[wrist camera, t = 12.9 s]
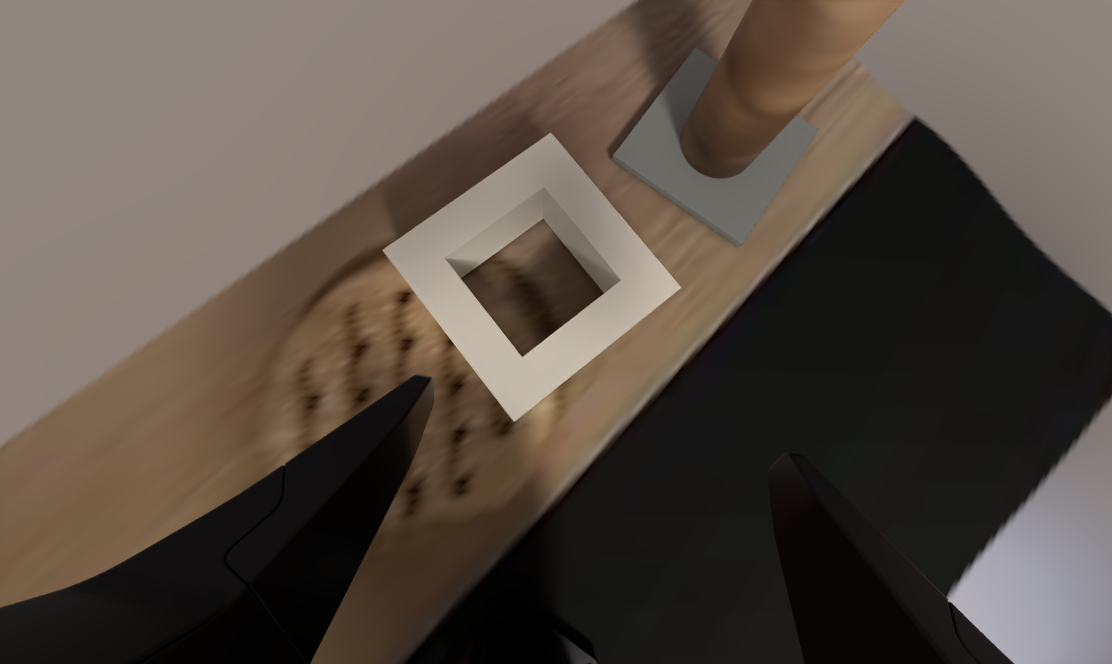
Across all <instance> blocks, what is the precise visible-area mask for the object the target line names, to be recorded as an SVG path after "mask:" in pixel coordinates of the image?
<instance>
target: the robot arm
mask: <svg viewBox="0 0 1112 664" xmlns="http://www.w3.org/2000/svg"><path fill="white" fill-rule="evenodd" d="M433 402H434V382H433V378H431V377H429V376H424V375H419V374H417V375H414V376H413V377H411V378H410V379H408V380H407V381H405V382H404V383H402V384H401V385H399V386H398V387H397V388H395V389H394V390H392V391H391V392H389V393H388V394H386V395H385V396H383V397H382V398H380V399H379V400H377V401H376V402H375V403H373V404H372V405H370V406H369V407H367V408H366V409H364V410H363V411H361V412H360V413H358V414H357V415H355V416H354V417H353V418H351V419H350V420H348V421H347V422H345V423H344V424H342V425H341V426H339V427H338V428H336V429H335V430H333V431H332V432H331V433H329V434H328V435H326V436H325V437H323V438H322V439H320V440H319V441H317V442H316V443H314V444H313V445H311V446H310V447H309V448H307V449H306V450H304V451H303V452H301V453H300V454H298V455H297V456H295V457H294V458H292V459H291V460H290V461H288V462H287V463H286V464H285V466H280V467H279V468H278V469H276V470H275V471H273V472H272V473H270V474H269V475H267V476H266V477H264V478H263V479H261V480H260V481H258V482H257V483H255V484H254V485H252V486H251V487H249V488H247V489H246V490H244V491H243V492H241V493H240V494H238V495H237V496H235V497H233V498H232V499H230V500H228V501H227V502H225V503H223V504H222V505H220V506H218V507H217V508H215V509H213V510H212V511H210V512H208V513H207V514H205V515H203V516H202V517H200V518H198V519H196V520H195V521H193V522H191V523H189V524H188V525H186V526H184V527H183V528H181V529H179V530H177V531H176V532H174V533H172V534H170V535H169V536H167V537H165V538H164V539H162V540H160V541H158V542H157V543H155V544H153V545H151V546H150V547H148V548H146V549H145V550H143V551H141V552H139V553H138V554H136V555H134V556H132V557H131V558H129V559H127V560H125V561H124V562H122V563H120V564H118V565H116V566H114V567H113V568H111V569H109V570H107V571H105V572H102V573H100V574H98V575H96V576H94V577H92V578H89V579H87V580H85V581H82V582H80V583H78V584H75V585H72V586H70V587H67V588H64V589H61V590H58V591H55V592H51V593H48V594H45V595H41V596H38V597H35V598H31V599H28V600H24V601H21V602H18V603H14V604H11V605H7V606H4V607H1V608H0V664H310V663H311V661H312V659H313V657H314V655H315V653H316V651H317V649H318V647H319V645H320V643H321V641H322V639H323V637H324V635H325V633H326V631H327V629H328V627H329V625H330V623H331V621H332V619H333V617H334V615H335V613H336V611H337V610H338V608H339V606H340V604H341V602H342V600H343V598H344V596H345V594H346V592H347V590H348V588H349V586H350V584H351V582H352V580H353V578H354V576H355V574H356V572H357V570H358V568H359V566H360V564H361V562H362V560H363V558H364V556H365V554H366V552H367V551H368V549H369V547H370V545H371V543H372V541H373V539H374V537H375V535H376V533H377V531H378V529H379V527H380V525H381V523H382V521H383V519H384V517H385V515H386V513H387V511H388V509H389V507H390V505H391V503H392V501H393V499H394V497H395V495H396V493H397V491H398V490H399V488H400V486H401V484H402V482H403V480H404V478H405V476H406V474H407V472H408V470H409V468H410V465H411V463H412V461H413V458H414V456H415V453H416V450H417V448H418V445H419V442H420V440H421V437H422V434H423V431H424V429H425V426H426V423H427V421H428V418H429V415H430V413H431V410H432V407H433ZM767 483H768V490H769V498H770V505H771V513H772V520H773V528H774V534H775V540H776V545H777V549H778V553H779V558H780V562H781V566H782V570H783V574H784V579H785V583H786V587H787V591H788V595H789V600H790V604H791V608H792V612H793V616H794V620H795V625H796V629H797V633H798V637H799V641H800V646H801V650H802V654H803V658H804V662H805V664H1014V663H1013V662H1012V661H1011V660H1010V659H1009V658H1008V657H1006V656H1005V655H1004V654H1003V653H1002V652H1001V651H1000V650H999V649H998V648H997V647H996V646H995V645H994V644H993V643H992V642H991V641H990V640H989V639H988V638H986V636H985V635H984V634H983V633H982V632H980V631H979V630H978V629H977V628H976V627H975V626H974V625H973V624H972V623H971V622H970V621H969V620H968V619H967V618H966V617H965V616H964V615H963V614H962V613H961V612H960V611H959V610H958V609H957V608H956V607H955V606H954V605H953V604H952V603H951V602H948V599H947V598H946V597H945V596H944V595H943V594H942V593H941V592H940V591H939V590H938V589H937V588H936V587H935V586H934V585H933V584H932V583H931V582H930V581H929V580H928V579H927V578H926V577H925V576H924V575H923V574H922V573H921V572H920V571H919V570H918V569H917V568H916V567H915V566H914V565H913V564H912V563H911V562H910V561H909V560H908V559H907V558H906V557H905V556H904V555H903V554H902V553H901V552H900V551H899V550H898V549H897V548H896V547H895V546H894V545H893V544H892V543H891V542H890V541H889V540H888V539H887V538H886V537H885V536H884V535H883V534H882V533H881V532H880V531H879V530H878V529H877V528H876V527H875V526H874V525H873V524H872V523H871V522H870V521H869V520H868V519H867V518H866V517H865V516H864V515H863V514H862V513H861V512H860V511H859V510H858V509H857V508H856V507H855V506H854V505H853V504H852V503H851V502H850V501H849V500H848V499H847V498H846V497H845V496H844V495H843V494H842V493H841V492H840V491H839V490H838V489H837V488H836V487H835V486H834V485H833V484H832V483H831V482H830V481H829V480H828V479H827V478H826V477H825V476H824V475H823V474H822V473H821V472H820V471H819V470H818V469H817V468H816V467H815V466H814V465H813V464H812V463H811V462H810V461H809V460H808V459H807V458H805V457H804V456H802V455H799V454H794V453H790V452H786V453H784V454H782V455H781V457H780V458H779V459H778V460H777V461H776V462H775V463H774V465H773V466H772V467H771V468H770V469H769V471H768V474H767ZM506 600H508V601H510V603H511V605H510V606H507V607H506V606H504V605H503V602H504V601H506ZM587 663H592V664H598V662H597V659H596V657H595V656H594V655H593V654H592V653H591V652H589V651H588V650H587V649H586V648H584V647H583V646H582V645H580V644H579V643H578V642H576V641H575V640H574V639H572V638H571V637H570V636H568V635H567V634H566V633H564V632H563V631H562V630H560V629H559V628H558V627H556V626H555V625H554V624H552V623H551V622H550V621H548V620H547V619H546V618H545V617H543V616H542V615H541V614H539V613H538V612H537V611H535V610H534V609H533V608H531V607H530V606H529V605H527V604H526V603H525V602H523V601H522V600H521V599H519V598H518V597H517V596H515V595H514V594H513V593H511V592H504V593H502V594H501V595H500V597H499V598H498V600H497V601H496V603H495V604H494V606H493V607H492V609H491V610H490V612H489V613H488V615H487V616H486V617H485V619H484V620H483V622H482V623H480V622H477V623H474V624H473V625H472V627H471V628H470V630H469V631H468V633H467V634H466V636H465V637H464V639H463V640H462V642H461V643H460V645H459V646H458V647H457V649H456V650H455V652H454V653H453V655H452V656H451V658H450V659H449V661H448V662H447V664H587Z"/></svg>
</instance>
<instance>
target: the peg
mask: <svg viewBox="0 0 1112 664" xmlns="http://www.w3.org/2000/svg"><path fill="white" fill-rule="evenodd" d="M904 1H905V0H752V2H751V4H750V6H749V8H748V9H747V11H746V13H745V15H744V17H743V18H742V20H741V22H740V24H739V26H738V28H737V29H736V31H735V33H734V35H733V37H732V39H731V40H730V42H729V44H728V46H727V48H726V50H725V51H724V53H723V55H722V57H721V59H720V60H719V62H718V64H717V66H716V68H715V70H714V71H713V73H712V75H711V77H710V79H709V81H708V82H707V84H706V86H705V88H704V90H703V91H702V93H701V95H700V97H699V99H698V101H697V102H696V104H695V106H694V108H693V110H692V112H691V113H690V115H689V117H688V119H687V121H686V122H685V124H684V126H683V128H682V131H681V136H680V145H681V150H682V153H683V155H684V157H685V159H686V161H687V162H688V163H689V164H690V166H692V167H693V168H694V169H695V170H696V171H698V172H699V173H701V174H703V175H705V176H708V177H711V178H717V179H724V178H730V177H733V176H736V175H738V174H740V173H741V172H743V171H744V170H745V169H746V168H747V167H748V166H749V165H750V164H751V163H752V162H753V161H754V160H755V159H756V158H757V157H758V156H759V155H760V153H761V152H762V151H763V150H764V149H765V148H766V147H767V146H768V145H769V144H770V143H771V142H772V141H773V140H774V139H775V138H776V137H777V135H778V134H779V133H780V132H781V131H782V130H783V129H784V128H785V127H786V126H787V125H788V124H789V123H790V122H791V121H792V120H793V119H794V117H795V116H796V115H797V114H798V113H799V112H800V111H801V110H802V109H803V108H804V107H805V106H806V105H807V104H808V103H809V102H810V101H811V99H812V98H813V97H814V96H815V95H816V94H817V93H818V92H819V91H820V90H821V89H822V88H823V87H824V86H825V85H826V84H827V83H828V81H829V80H830V79H831V78H832V77H833V76H834V75H835V74H836V73H837V72H838V71H839V70H840V69H841V68H842V67H843V66H844V65H845V63H846V62H847V61H848V60H849V59H850V58H851V57H852V56H853V55H854V54H855V53H856V52H857V51H858V50H859V48H861V47H862V45H863V44H864V43H865V42H866V41H867V40H868V39H869V38H870V37H871V36H872V35H873V34H874V33H875V32H876V31H877V30H878V29H879V27H880V26H881V25H882V24H883V23H884V22H885V21H886V20H887V19H888V18H889V17H890V16H891V15H892V14H893V13H894V12H895V10H896V9H897V8H898V7H899V6H900V5H901V4H902V3H903V2H904Z"/></svg>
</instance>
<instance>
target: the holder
mask: <svg viewBox="0 0 1112 664" xmlns="http://www.w3.org/2000/svg"><path fill="white" fill-rule="evenodd" d="M542 219H544V220H545V222H546V223H547V224H548V225H549V227H550V228H551V229H552V230H553V232H554V233H555V234H556V235H557V236H558V238H559V239H560V240H561V241H562V243H563V244H564V245H565V246H566V247H567V249H568V250H569V251H570V252H571V254H572V255H573V256H574V257H575V258H576V260H577V261H578V262H579V263H580V265H581V266H582V267H583V268H584V269H585V271H586V272H587V273H588V274H589V276H590V277H591V278H592V279H593V280H594V282H595V283H596V284H597V285H598V287H599V288H600V289H601V290H602V291H603V293H604V294H603V295H602V296H600V297H599V298H598V299H596V300H595V301H594V302H593V303H591V304H590V305H589V306H587V307H586V308H585V309H584V310H582V311H581V312H580V313H579V314H577V315H576V316H575V317H573V318H572V319H571V320H570V321H568V322H567V323H566V324H564V325H563V326H562V327H561V328H559V329H558V330H557V331H555V332H554V333H553V334H552V335H550V336H549V337H548V338H546V339H545V340H544V341H543V342H541V343H540V344H539V345H537V346H536V347H535V348H534V349H532V350H531V351H530V352H528V353H527V354H526V355H525V356H523V357H522V356H521V355H520V354H519V353H518V351H517V350H516V349H515V347H514V346H513V345H512V344H511V342H510V341H509V340H508V338H507V337H506V336H505V335H504V333H503V332H502V331H501V330H500V328H499V327H498V326H497V324H496V323H495V322H494V321H493V319H492V318H491V317H490V315H489V314H488V313H487V312H486V310H485V309H484V308H483V307H482V305H481V304H480V303H479V301H478V300H477V299H476V298H475V296H474V295H473V294H472V292H471V291H470V290H469V289H468V287H467V286H466V285H465V283H464V282H463V281H462V280H461V278H462V277H464V276H465V275H466V274H468V273H469V272H471V271H472V270H473V269H475V268H476V267H477V266H479V265H480V264H482V263H483V262H484V261H486V260H487V259H488V258H490V257H491V256H492V255H494V254H495V253H497V252H498V251H499V250H501V249H502V248H503V247H505V246H506V245H508V244H509V243H510V242H512V241H513V240H514V239H516V238H517V237H519V236H520V235H521V234H523V233H524V232H525V231H527V230H528V229H529V228H531V227H532V226H534V225H535V224H536V223H538V222H539V221H540V220H542ZM382 251H383V252H384V253H385V254H386V256H387V257H388V258H389V260H390V261H391V262H392V264H393V265H394V266H395V267H396V269H397V270H398V271H399V273H400V274H401V275H402V277H403V278H404V279H405V281H406V282H407V283H408V284H409V286H410V287H411V288H412V290H413V291H414V292H415V294H416V295H417V296H418V297H419V299H420V300H421V301H422V303H423V304H424V305H425V307H426V308H427V309H428V311H429V312H430V313H431V314H432V316H433V317H434V318H435V320H436V321H437V322H438V324H439V325H440V326H441V327H442V329H443V330H444V331H445V333H446V334H447V335H448V337H449V338H450V339H451V340H452V342H453V343H454V344H455V346H456V347H457V348H458V350H459V351H460V352H461V354H462V355H463V356H464V357H465V359H466V360H467V361H468V363H469V364H470V365H471V367H472V368H473V369H474V370H475V372H476V373H477V374H478V376H479V377H480V378H481V380H482V381H483V382H484V384H485V385H486V386H487V387H488V389H489V390H490V391H491V393H492V394H493V395H494V397H495V398H496V399H497V400H498V402H499V403H500V404H501V406H502V407H503V408H504V410H505V411H506V412H507V414H508V415H509V416H510V417H511V419H512V420H513V421H514V422H515V421H516V420H517V419H518V418H520V417H521V416H522V415H523V414H525V413H526V412H527V411H528V410H530V409H531V408H532V407H533V406H535V405H536V404H537V403H538V402H540V401H541V400H542V399H543V398H545V397H546V396H547V395H548V394H549V393H551V392H552V391H553V390H554V389H556V388H557V387H558V386H559V385H561V384H562V383H563V382H564V381H566V380H567V379H568V378H569V377H571V376H572V375H573V374H574V373H576V372H577V371H578V370H579V369H581V368H582V367H583V366H584V365H586V364H587V363H588V362H589V361H591V360H592V359H593V358H594V357H596V356H597V355H598V354H599V353H601V352H602V351H603V350H604V349H606V348H607V347H608V346H609V345H611V344H612V343H613V342H614V341H616V340H617V339H618V338H619V337H621V336H622V335H623V334H624V333H625V332H627V331H628V330H629V329H630V328H632V327H633V326H634V325H635V324H637V323H638V322H639V321H640V320H642V319H643V318H644V317H645V316H647V315H648V314H649V313H650V312H652V311H653V310H654V309H655V308H657V307H658V306H659V305H660V304H662V303H663V302H664V301H665V300H667V299H668V298H669V297H670V296H672V295H673V294H674V293H675V292H677V291H678V290H679V289H680V288H681V287H680V286H679V284H678V283H677V282H676V281H675V280H674V279H673V277H672V276H671V275H670V274H669V273H668V271H667V270H666V269H665V268H664V267H663V265H662V264H661V263H660V262H659V261H658V259H657V258H656V257H655V256H654V255H653V253H652V252H651V251H650V250H649V249H648V248H647V246H646V245H645V244H644V243H643V242H642V240H641V239H640V238H639V237H638V236H637V234H636V233H635V232H634V231H633V230H632V228H631V227H630V226H629V225H628V224H627V222H626V221H625V220H624V219H623V218H622V217H621V215H620V214H619V213H618V212H617V211H616V209H615V208H614V207H613V206H612V205H611V203H610V202H609V201H608V200H607V199H606V197H605V196H604V195H603V194H602V193H601V191H600V190H599V189H598V188H597V187H596V186H595V184H594V183H593V182H592V181H591V180H590V178H589V177H588V176H587V175H586V174H585V172H584V171H583V170H582V169H581V168H580V166H579V165H578V164H577V163H576V162H575V161H574V159H573V158H572V157H571V156H570V155H569V153H568V152H567V151H566V150H565V149H564V147H563V146H562V145H561V144H560V143H559V141H558V140H557V139H556V138H555V137H554V135H553V134H552V133H550V134H548V135H547V136H545V137H544V138H542V139H541V140H540V141H538V142H537V143H535V144H534V145H532V146H531V147H529V148H528V149H527V150H525V151H524V152H522V153H521V154H519V155H518V156H517V157H515V158H514V159H512V160H511V161H509V162H508V163H507V164H505V165H504V166H502V167H501V168H499V169H498V170H496V171H495V172H494V173H492V174H491V175H489V176H488V177H486V178H485V179H484V180H482V181H481V182H479V183H478V184H476V185H475V186H474V187H472V188H471V189H469V190H468V191H466V192H465V193H463V194H462V195H461V196H459V197H458V198H456V199H455V200H453V201H452V202H451V203H449V204H448V205H446V206H445V207H443V208H442V209H441V210H439V211H438V212H436V213H435V214H433V215H432V216H431V217H429V218H428V219H426V220H425V221H423V222H422V223H420V224H419V225H418V226H416V227H415V228H413V229H412V230H410V231H409V232H408V233H406V234H405V235H403V236H402V237H400V238H399V239H398V240H396V241H395V242H393V243H392V244H390V245H389V246H387V247H386V248H385V249H383V250H382Z"/></svg>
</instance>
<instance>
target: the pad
mask: <svg viewBox="0 0 1112 664" xmlns="http://www.w3.org/2000/svg"><path fill="white" fill-rule="evenodd" d="M717 64H718V62H717V61H716V60H714V59H713V58H711V57H710V56H708V55H707V54H705V53H704V52H702V51H701V50H699V49H698V48H696V47H695V48H694V50H693V51H692V52H691V54H690V55H689V56H688V57H687V59H686V60H685V61H684V63H683V64H682V65H681V67H680V68H679V69H678V71H677V72H676V73H675V75H674V76H673V77H672V79H671V80H670V81H669V82H668V84H667V85H666V86H665V88H664V89H663V90H662V92H661V93H660V94H659V96H658V97H657V98H656V100H655V101H654V102H653V104H652V105H651V106H650V107H649V109H648V110H647V111H646V113H645V114H644V115H643V117H642V118H641V119H640V121H639V122H638V123H637V125H636V126H635V127H634V129H633V130H632V131H631V133H630V134H629V135H628V136H627V138H626V139H625V140H624V142H623V143H622V144H621V146H620V147H619V148H618V150H617V151H616V152H615V154H614V155H613V157H612V161H614V162H615V163H617V164H618V165H620V166H621V167H623V168H624V169H625V170H627V171H628V172H630V173H631V174H633V175H634V176H636V177H637V178H639V179H640V180H641V181H643V182H644V183H646V184H647V185H649V186H650V187H652V188H653V189H655V190H656V191H657V192H659V193H660V194H662V195H663V196H665V197H666V198H668V199H669V200H671V201H672V202H673V203H675V204H676V205H678V206H679V207H681V208H682V209H684V210H685V211H687V212H688V213H689V214H691V215H692V216H694V217H695V218H697V219H698V220H700V221H701V222H703V223H704V224H705V225H707V226H708V227H710V228H711V229H713V230H714V231H716V232H717V233H719V234H720V235H721V236H723V237H724V238H726V239H727V240H729V241H730V242H732V243H733V244H735V245H736V246H737V247H739V246H741V245H742V244H743V243H744V241H745V240H746V238H747V237H748V235H749V234H750V232H751V231H752V229H753V228H754V226H755V225H756V223H757V222H758V220H759V219H760V217H761V216H762V214H763V213H764V211H765V210H766V208H767V207H768V205H769V204H770V202H771V201H772V199H773V198H774V196H775V195H776V193H777V192H778V190H779V189H780V187H781V186H782V184H783V183H784V181H785V180H786V178H787V177H788V175H789V174H790V172H791V171H792V169H793V168H794V166H795V165H796V163H797V162H798V160H799V159H800V157H801V156H802V154H803V153H804V151H805V150H806V148H807V147H808V145H809V144H810V142H811V141H812V139H813V138H814V136H815V135H816V133H817V132H818V130H819V129H818V128H817V127H815V126H814V125H812V124H811V123H809V122H808V121H806V120H805V119H803V118H802V117H800V116H799V115H796V116H795V117H794V119H793V120H792V121H791V122H790V123H789V124H788V125H787V126H786V127H785V128H784V129H783V130H782V131H781V132H780V133H779V134H778V135H777V137H776V138H775V139H774V140H773V141H772V142H771V143H770V144H769V145H768V146H767V147H766V148H765V149H764V150H763V151H762V152H761V153H760V155H759V156H758V157H757V158H756V159H755V160H754V161H753V162H752V163H751V164H750V165H749V166H748V167H747V168H746V169H745V170H744V171H743V172H741V173H740V174H738V175H736V176H733V177H730V178H724V179H717V178H711V177H708V176H705V175H703V174H701V173H699V172H698V171H696V170H695V169H694V168H693V167H692V166H690V164H689V163H688V162H687V161H686V159H685V157H684V155H683V153H682V150H681V145H680V136H681V131H682V128H683V126H684V124H685V122H686V121H687V119H688V117H689V115H690V113H691V112H692V110H693V108H694V106H695V104H696V102H697V101H698V99H699V97H700V95H701V93H702V91H703V90H704V88H705V86H706V84H707V82H708V81H709V79H710V77H711V75H712V73H713V71H714V70H715V68H716V66H717Z"/></svg>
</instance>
